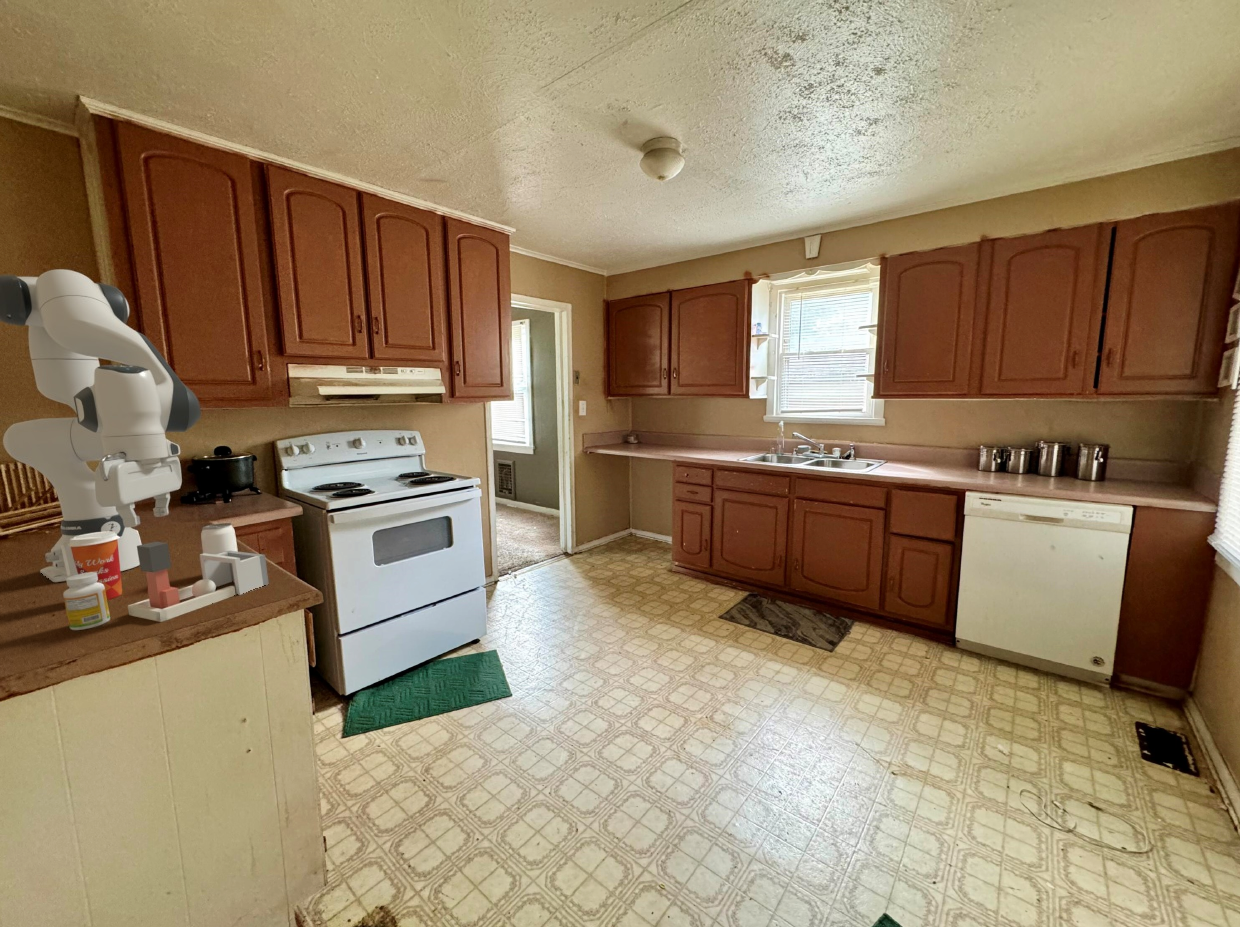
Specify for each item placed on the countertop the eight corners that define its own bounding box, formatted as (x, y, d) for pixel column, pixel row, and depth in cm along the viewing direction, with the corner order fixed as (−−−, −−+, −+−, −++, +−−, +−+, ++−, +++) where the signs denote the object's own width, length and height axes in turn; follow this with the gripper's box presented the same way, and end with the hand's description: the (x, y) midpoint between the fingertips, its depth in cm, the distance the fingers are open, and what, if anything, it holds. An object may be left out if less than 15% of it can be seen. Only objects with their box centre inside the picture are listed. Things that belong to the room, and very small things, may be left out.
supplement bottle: (89, 619, 98) (80, 571, 97) (118, 617, 99) (110, 569, 98) (61, 631, 93) (51, 581, 92) (92, 629, 94) (83, 579, 92)
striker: (144, 611, 100) (133, 545, 98) (162, 605, 103) (152, 541, 101) (163, 615, 98) (152, 547, 96) (181, 609, 101) (170, 543, 99)
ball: (188, 600, 106) (185, 582, 106) (209, 593, 110) (206, 575, 110) (200, 602, 105) (197, 584, 104) (221, 595, 109) (218, 577, 108)
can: (221, 578, 119) (214, 529, 117) (199, 577, 120) (192, 529, 119) (247, 569, 125) (240, 522, 124) (225, 568, 127) (219, 522, 125)
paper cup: (71, 607, 105) (58, 542, 103) (88, 595, 111) (77, 533, 109) (121, 599, 108) (110, 536, 106) (135, 587, 115) (125, 528, 113)
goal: (204, 588, 113) (199, 554, 112) (234, 579, 118) (229, 546, 117) (240, 594, 108) (235, 559, 107) (268, 584, 114) (264, 550, 113)
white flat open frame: (129, 615, 100) (127, 605, 99) (204, 590, 112) (203, 581, 112) (161, 621, 96) (159, 612, 96) (235, 595, 108) (234, 586, 108)
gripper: (121, 454, 87) (134, 531, 89) (184, 445, 107) (193, 509, 108) (75, 456, 85) (89, 535, 87) (147, 447, 105) (158, 512, 106)
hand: (147, 520), depth 98 cm, fingers open, 8 cm apart
